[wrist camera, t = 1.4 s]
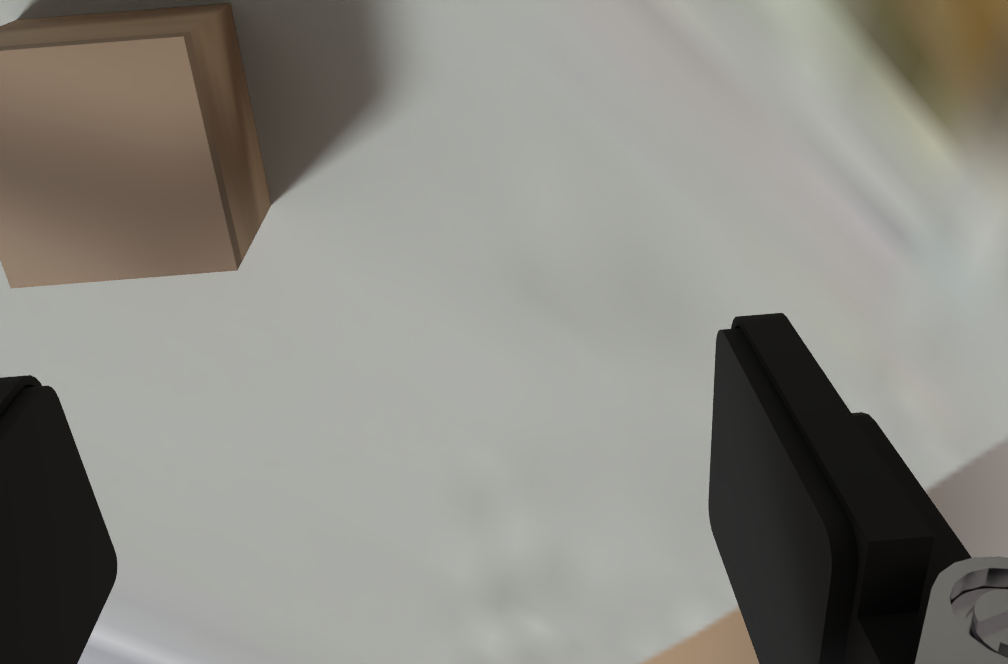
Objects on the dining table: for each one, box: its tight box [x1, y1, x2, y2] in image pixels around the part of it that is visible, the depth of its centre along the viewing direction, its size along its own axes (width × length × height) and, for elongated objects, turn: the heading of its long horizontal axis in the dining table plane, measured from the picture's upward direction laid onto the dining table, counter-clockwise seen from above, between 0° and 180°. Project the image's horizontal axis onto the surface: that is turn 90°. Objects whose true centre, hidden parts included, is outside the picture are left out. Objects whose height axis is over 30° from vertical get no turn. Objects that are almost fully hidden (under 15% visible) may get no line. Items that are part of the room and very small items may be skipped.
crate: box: [0, 3, 271, 288], centre depth 25 cm, size 6×6×5 cm
